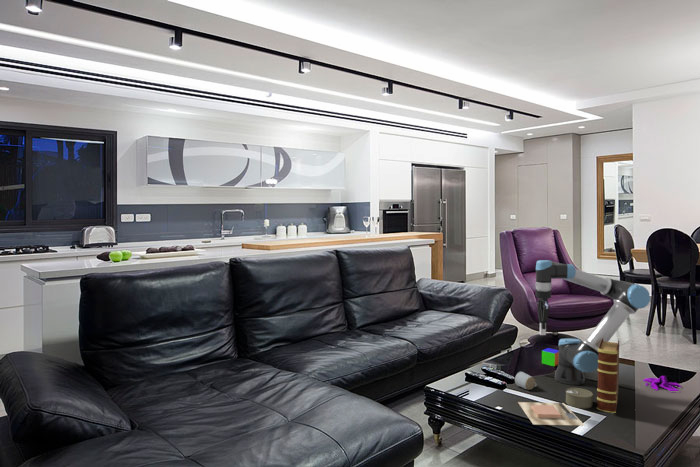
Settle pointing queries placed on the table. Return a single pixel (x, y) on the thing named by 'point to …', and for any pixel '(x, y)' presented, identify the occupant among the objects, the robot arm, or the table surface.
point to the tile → (545, 411)
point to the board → (549, 421)
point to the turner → (568, 414)
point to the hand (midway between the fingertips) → (542, 334)
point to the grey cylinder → (525, 381)
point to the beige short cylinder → (579, 397)
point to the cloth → (661, 383)
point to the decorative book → (608, 376)
